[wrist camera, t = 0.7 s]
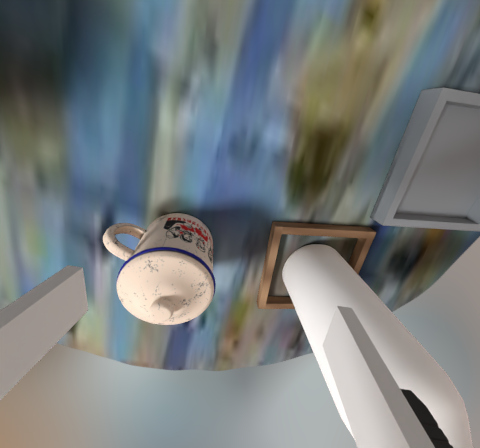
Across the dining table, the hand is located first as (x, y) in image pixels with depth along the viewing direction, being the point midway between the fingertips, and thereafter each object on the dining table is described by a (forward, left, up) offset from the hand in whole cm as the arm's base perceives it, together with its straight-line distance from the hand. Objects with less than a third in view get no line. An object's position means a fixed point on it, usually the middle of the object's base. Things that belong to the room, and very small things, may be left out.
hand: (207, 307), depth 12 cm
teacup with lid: (+6, -5, -17) cm, 19 cm away
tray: (-6, +29, -17) cm, 34 cm away
